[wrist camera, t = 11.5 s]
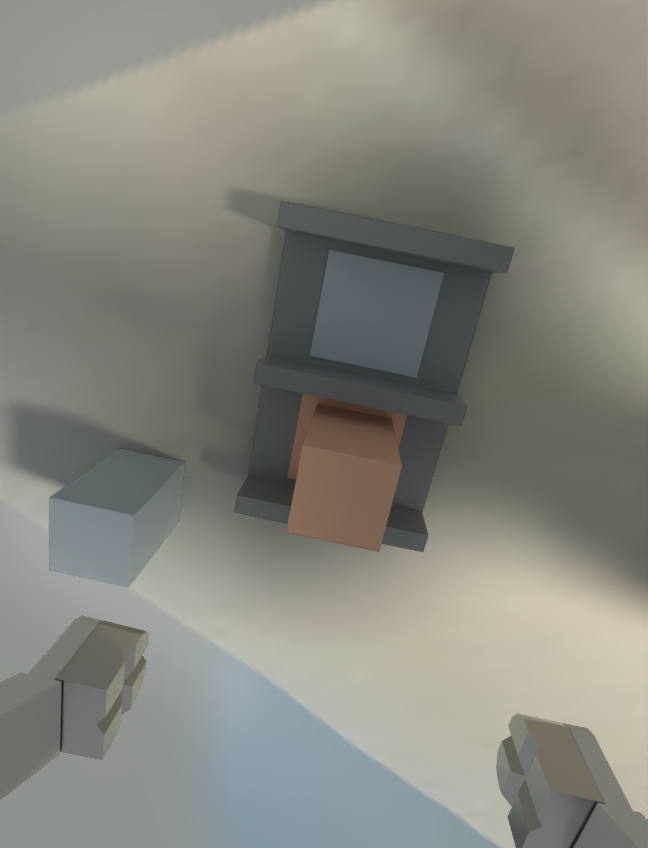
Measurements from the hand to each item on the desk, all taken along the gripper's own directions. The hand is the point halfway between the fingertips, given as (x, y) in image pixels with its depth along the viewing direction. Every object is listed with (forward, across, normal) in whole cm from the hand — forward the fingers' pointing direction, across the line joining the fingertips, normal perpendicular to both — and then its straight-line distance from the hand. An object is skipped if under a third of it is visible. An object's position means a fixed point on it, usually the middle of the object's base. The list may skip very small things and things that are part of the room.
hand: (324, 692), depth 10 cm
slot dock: (+17, 0, +4) cm, 17 cm away
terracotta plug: (+16, 0, 0) cm, 16 cm away
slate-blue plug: (+17, -11, -5) cm, 21 cm away
